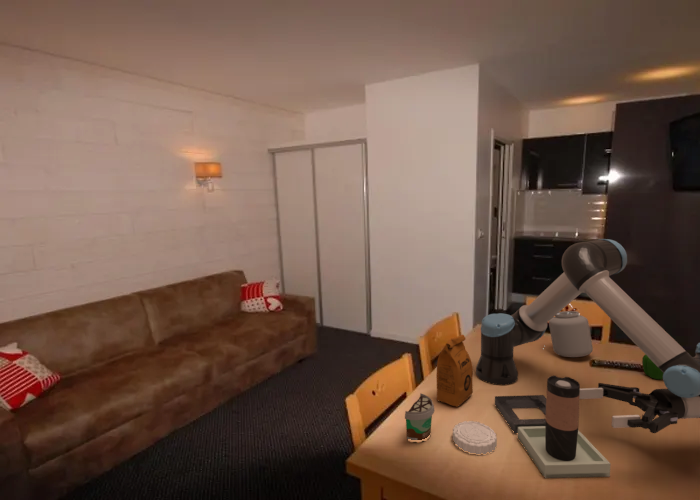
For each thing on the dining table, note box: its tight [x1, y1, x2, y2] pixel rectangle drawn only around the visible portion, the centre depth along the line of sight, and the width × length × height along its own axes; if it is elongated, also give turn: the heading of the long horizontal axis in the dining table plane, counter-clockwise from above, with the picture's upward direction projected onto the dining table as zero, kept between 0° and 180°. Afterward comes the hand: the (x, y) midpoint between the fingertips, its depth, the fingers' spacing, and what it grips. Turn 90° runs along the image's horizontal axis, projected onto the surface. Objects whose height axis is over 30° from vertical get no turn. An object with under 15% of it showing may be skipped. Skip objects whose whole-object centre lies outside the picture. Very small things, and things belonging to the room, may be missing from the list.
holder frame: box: [494, 394, 547, 434], centre depth 121 cm, size 16×16×3 cm
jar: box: [542, 303, 594, 358], centre depth 165 cm, size 19×15×25 cm
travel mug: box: [544, 375, 581, 461], centre depth 102 cm, size 8×8×20 cm
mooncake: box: [452, 420, 498, 454], centre depth 110 cm, size 12×12×4 cm
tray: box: [517, 426, 612, 479], centre depth 103 cm, size 16×16×4 cm
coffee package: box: [435, 334, 474, 407], centre depth 133 cm, size 10×12×22 cm
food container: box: [404, 393, 436, 440], centre depth 113 cm, size 12×6×10 cm, turn 148°
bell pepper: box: [641, 354, 664, 381], centre depth 144 cm, size 8×8×10 cm
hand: (594, 407), depth 102 cm, fingers open, 13 cm apart
